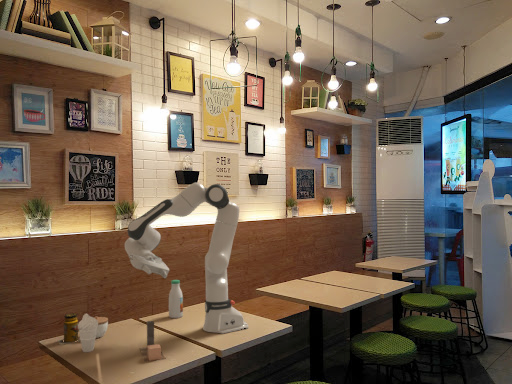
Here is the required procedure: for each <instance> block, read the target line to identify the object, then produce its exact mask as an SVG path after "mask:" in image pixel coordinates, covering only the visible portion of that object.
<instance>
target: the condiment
mask: <svg viewBox="0 0 512 384" xmlns="http://www.w3.org/2000/svg"><path fill="white" fill-rule="evenodd" d="M78 324H79V320H78V314H77V313H67V314H65V315H64V321H63V339H57V342H58V343H59V345H60V346H62V345H65V344H71V342H73V343H76V342H75V341H77V340H78V339H79V329H78ZM63 340H64V342H63ZM79 342H81V341H80V339H79V340H78V342H77V343H79ZM73 343H72V344H73Z"/></svg>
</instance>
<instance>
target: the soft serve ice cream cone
mask: <svg viewBox="0 0 512 384" xmlns="http://www.w3.org/2000/svg"><path fill="white" fill-rule="evenodd" d="M97 326H98V321H97V319H95V317H93V316H90V315H89V314H88V313H84V315H83V316H82V319H81V320H80V321H78V333H79V340H80V341H79V342H80V344H81V345H80V346H81V349H82V353H91V352H93V351H94V348H95V343H96V339H97V338H96V330H97Z"/></svg>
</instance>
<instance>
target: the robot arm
mask: <svg viewBox="0 0 512 384" xmlns="http://www.w3.org/2000/svg"><path fill="white" fill-rule="evenodd" d="M203 203H207V204H209V206H212V207H214V208H216V209H217V215H216V219H215V222H214V225H213V230H212V233H211V237H210V243H209V248H208V251H207V253H206V254H205V255H204V256H205V257H204V271H205V273H204V275H205V300H204V312H205V315H204V317H205V318H204V322H203V323H204V324H203V328H202V330H203V331H205V332H209V333H219V334H227V333H231V332H237V331H240V330H241V329H242V330H245V329H244V328H246V329H249V323H247V322H246V321H244V316H243V314H242V313H241V312H240V311H239V310H237V308H235V307H233V306H234V305H235V304H236V302H235V301H234V300H232V299H229V286H228V285H229V283H228V269H227V268H229V263H230V258H231V254H232V248H233V243H234V238H235V234H236V231H237V227H238V224H239V217H240V206H239V205H238V204H236V203H235V202H234V201H233V202H232V201H231V200H230V199H229V194H228V191H227V189H226V188H225V187H224V185H221V184H217V183H213V184H211V185H210V186H209V187H205V186H204V185H203V184H202V183H200V182H193V183H191V184H189V185H187V187H185V188H184V189H183V190H182V191H181V192H180V193H179V194H177V195H176V196H174V197H171V198H170V199H168V198H167V199H164V200H162V201H161V202H159V203H158V204H156V205H155V206H153V207H152V208H151V209H150V210H147V212H145V213H144V214H142V215H141V216H139V217H138V218H136V219H133V220H132V221H130V223H129V224H128V226H127V236H128V238H127V239H126V241H125V242H124V250H125V252H126V253H127V255H128V258H129V263H130V264H131V265H132V267H133V268H135V269H137V270H140V271H141V270H142V271H144V272H145V273H146V274H148V275H151V274H152V273H153V274H156V275H160V276H161V278H164V279H167V278H168V274H169V272H170V268H169V267H168V266H167V265H166V263H165V262H164V261H163V259H162V258H161V257H160V256H157V255H156V254H154V253H153V251H154V250H155V249H156V248H158V246H159V245H160V243H161V240H162V235H161V233H160V232H159V231H158V230H157V229H155V228H154V227H152V226H151V224H153V223H154V222H156V221H157V220H158V219H159V218H161V217H163V216H166V215H171V216H175V217H180V218H181V217H182V218H183V217H188V215H191V214H192V213H193V212H194V211H195V210H196V209H197V208H198V207H199V206H200V205H201V204H203ZM242 330H241V331H242Z"/></svg>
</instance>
